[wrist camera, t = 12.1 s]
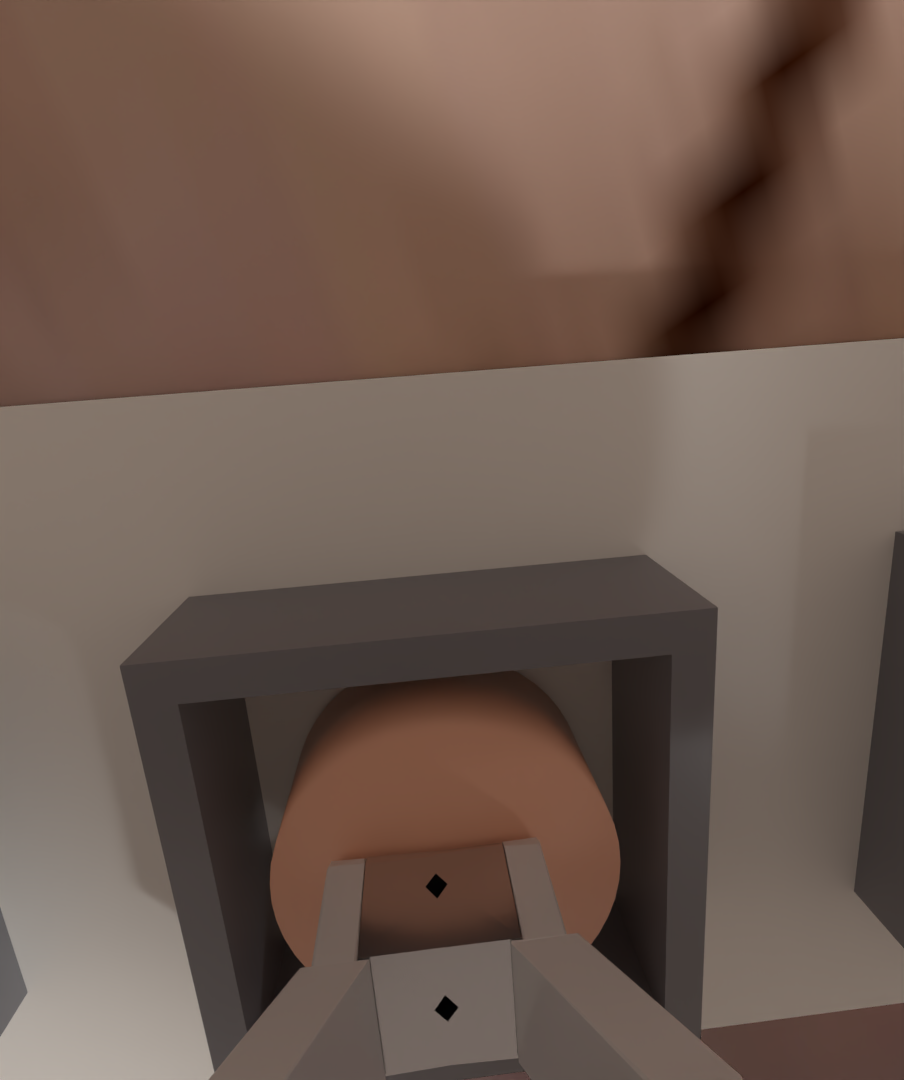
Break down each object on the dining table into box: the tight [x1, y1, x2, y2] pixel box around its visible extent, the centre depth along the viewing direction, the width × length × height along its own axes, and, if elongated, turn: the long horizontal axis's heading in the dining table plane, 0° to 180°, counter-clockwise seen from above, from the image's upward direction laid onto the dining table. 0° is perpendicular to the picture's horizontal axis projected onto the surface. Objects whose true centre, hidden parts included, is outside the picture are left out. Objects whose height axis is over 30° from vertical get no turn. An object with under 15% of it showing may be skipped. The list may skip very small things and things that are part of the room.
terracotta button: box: [270, 671, 621, 967], centre depth 10 cm, size 5×5×2 cm
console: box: [0, 338, 904, 1080], centre depth 11 cm, size 36×14×4 cm, turn 94°
